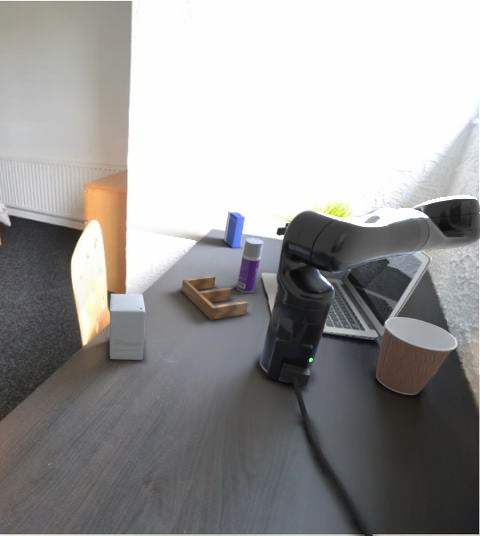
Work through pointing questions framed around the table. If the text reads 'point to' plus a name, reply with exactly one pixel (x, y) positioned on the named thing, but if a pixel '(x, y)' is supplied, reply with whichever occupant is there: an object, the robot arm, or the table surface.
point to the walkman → (234, 229)
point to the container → (249, 265)
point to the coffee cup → (411, 354)
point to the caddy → (212, 298)
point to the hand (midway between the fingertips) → (288, 236)
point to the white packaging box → (127, 326)
